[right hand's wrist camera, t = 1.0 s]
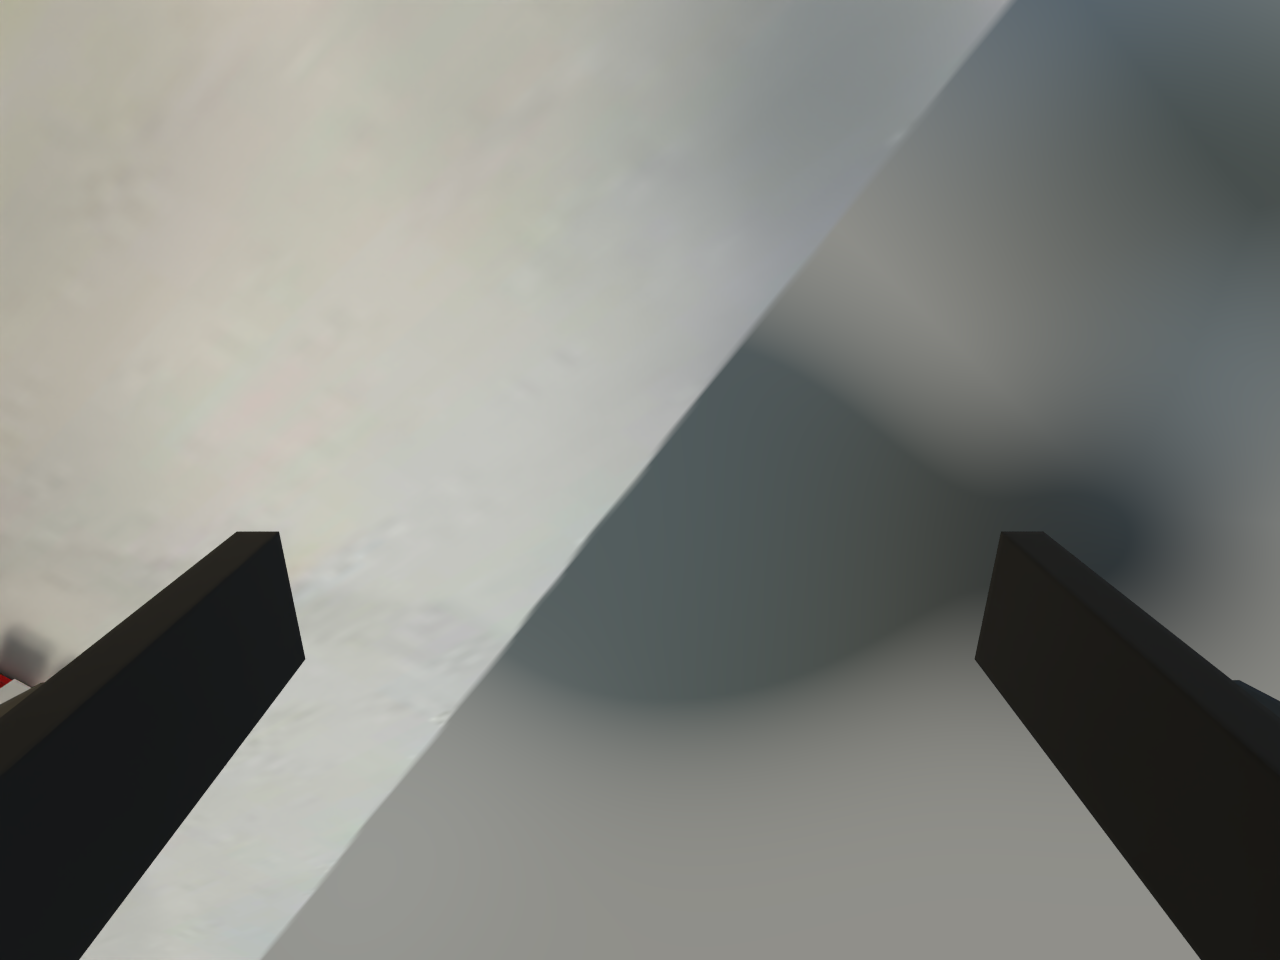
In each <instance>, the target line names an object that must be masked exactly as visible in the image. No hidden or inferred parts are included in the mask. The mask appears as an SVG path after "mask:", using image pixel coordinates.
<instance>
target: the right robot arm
mask: <svg viewBox="0 0 1280 960" xmlns="http://www.w3.org/2000/svg"><path fill="white" fill-rule="evenodd" d="M304 660H305V655H304V650H303V646H302V641H301V636H300V631H299V626H298V621H297V617H296V612H295V607H294V602H293V597H292V592H291V588H290V583H289V578H288V573H287V568H286V563H285V559H284V554H283V549H282V544H281V539H280V534H279V532H236V533H234V534H233V535H232V536H231V537H229V538H228V539H227V540H226V541H224V542H223V543H222V544H220V545H219V546H218V547H217V548H215V549H214V550H213V551H212V552H210V553H209V554H208V555H206V556H205V557H204V558H203V559H201V560H200V561H199V562H198V563H196V564H195V565H194V566H192V567H191V568H190V569H189V570H187V571H186V572H185V573H184V574H182V575H181V576H180V577H179V578H177V579H176V580H175V581H173V582H172V583H171V584H170V585H168V586H167V587H166V588H165V589H163V590H162V591H161V592H159V593H158V594H157V595H156V596H154V597H153V598H152V599H151V600H149V601H148V602H147V603H145V604H144V605H143V606H142V607H140V608H139V609H138V610H137V611H135V612H134V613H133V614H131V615H130V616H129V617H128V618H126V619H125V620H124V621H123V622H121V623H120V624H119V625H117V626H116V627H115V628H114V629H112V630H111V631H110V632H109V633H107V634H106V635H105V636H104V637H102V638H101V639H100V640H98V641H97V642H96V643H95V644H93V645H92V646H91V647H90V648H88V649H87V650H86V651H84V652H83V653H82V654H81V655H79V656H78V657H77V658H76V659H74V660H73V661H72V662H70V663H69V664H68V665H67V666H65V667H64V668H63V669H62V670H60V671H59V672H58V673H56V674H55V675H54V676H53V677H51V678H50V679H49V680H48V681H46V682H45V683H40V684H38V685H36V686H34V687H32V688H30V689H29V690H27V691H25V692H23V693H21V694H19V695H17V696H15V697H13V698H11V699H9V700H8V701H6V702H4V703H2V704H0V960H79V959H80V958H81V956H82V955H83V954H84V952H85V951H86V950H87V949H88V947H89V946H90V945H91V943H92V942H93V941H94V939H95V938H96V937H97V935H98V934H99V933H100V931H101V930H102V929H103V927H104V926H105V925H106V923H107V922H108V921H109V919H110V918H111V917H112V915H113V914H114V913H115V911H116V910H117V909H118V907H119V906H120V905H121V903H122V902H123V901H124V899H125V898H126V897H127V895H128V894H129V893H130V891H131V890H132V889H133V887H134V886H135V885H136V883H137V882H138V881H139V879H140V878H141V877H142V875H143V874H144V873H145V871H146V870H147V869H148V867H149V866H150V865H151V863H152V862H153V861H154V859H155V858H156V857H157V855H158V854H159V853H160V852H161V850H162V849H163V848H164V846H165V845H166V844H167V842H168V841H169V840H170V838H171V837H172V836H173V834H174V833H175V832H176V830H177V829H178V828H179V826H180V825H181V824H182V822H183V821H184V820H185V818H186V817H187V816H188V814H189V813H190V812H191V810H192V809H193V808H194V806H195V805H196V804H197V802H198V801H199V800H200V798H201V797H202V796H203V794H204V793H205V792H206V790H207V789H208V788H209V786H210V785H211V784H212V782H213V781H214V780H215V778H216V777H217V776H218V774H219V773H220V772H221V770H222V769H223V768H224V766H225V765H226V764H227V762H228V761H229V760H230V759H231V757H232V756H233V755H234V753H235V752H236V751H237V749H238V748H239V747H240V745H241V744H242V743H243V741H244V740H245V739H246V737H247V736H248V735H249V733H250V732H251V731H252V729H253V728H254V727H255V725H256V724H257V723H258V721H259V720H260V719H261V717H262V716H263V715H264V713H265V712H266V711H267V709H268V708H269V707H270V705H271V704H272V703H273V701H274V700H275V699H276V697H277V696H278V695H279V693H280V692H281V691H282V689H283V688H284V687H285V685H286V684H287V683H288V681H289V680H290V679H291V677H292V676H293V675H294V673H295V672H296V671H297V669H298V668H299V667H300V666H301V664H302V663H303V662H304ZM975 660H976V662H977V663H978V664H979V666H980V667H981V668H982V669H983V671H984V672H985V673H986V675H987V676H988V677H989V679H990V680H991V681H992V683H993V684H994V685H995V687H996V688H997V689H998V691H999V692H1000V693H1001V695H1002V696H1003V697H1004V699H1005V700H1006V701H1007V703H1008V704H1009V705H1010V707H1011V708H1012V709H1013V711H1014V712H1015V713H1016V715H1017V716H1018V717H1019V719H1020V720H1021V721H1022V723H1023V724H1024V725H1025V727H1026V728H1027V729H1028V731H1029V732H1030V733H1031V735H1032V736H1033V737H1034V739H1035V740H1036V741H1037V743H1038V744H1039V745H1040V747H1041V748H1042V749H1043V751H1044V752H1045V753H1046V754H1047V756H1048V757H1049V759H1050V760H1051V761H1052V762H1053V764H1054V765H1055V766H1056V768H1057V769H1058V770H1059V772H1060V773H1061V774H1062V776H1063V777H1064V778H1065V780H1066V781H1067V782H1068V784H1069V785H1070V786H1071V788H1072V789H1073V790H1074V792H1075V793H1076V794H1077V796H1078V797H1079V798H1080V800H1081V801H1082V802H1083V804H1084V805H1085V806H1086V808H1087V809H1088V810H1089V812H1090V813H1091V814H1092V816H1093V817H1094V818H1095V820H1096V821H1097V822H1098V824H1099V825H1100V826H1101V828H1102V829H1103V830H1104V832H1105V833H1106V834H1107V836H1108V837H1109V838H1110V840H1111V841H1112V842H1113V844H1114V845H1115V846H1116V848H1117V849H1118V850H1119V852H1120V853H1121V854H1122V855H1123V857H1124V858H1125V859H1126V861H1127V862H1128V863H1129V865H1130V866H1131V867H1132V869H1133V870H1134V871H1135V873H1136V874H1137V875H1138V877H1139V878H1140V879H1141V881H1142V882H1143V883H1144V885H1145V886H1146V887H1147V889H1148V890H1149V891H1150V893H1151V894H1152V895H1153V897H1154V898H1155V899H1156V901H1157V902H1158V903H1159V905H1160V906H1161V907H1162V909H1163V910H1164V911H1165V913H1166V914H1167V915H1168V917H1169V918H1170V919H1171V921H1172V922H1173V923H1174V925H1175V926H1176V927H1177V929H1178V930H1179V931H1180V933H1181V934H1182V935H1183V937H1184V938H1185V939H1186V941H1187V942H1188V943H1189V944H1190V946H1191V947H1192V948H1193V950H1194V951H1195V952H1196V954H1197V955H1198V956H1199V958H1200V959H1201V960H1280V701H1278V700H1276V699H1274V698H1272V697H1271V696H1269V695H1267V694H1265V693H1263V692H1261V691H1259V690H1257V689H1255V688H1253V687H1251V686H1249V685H1247V684H1246V683H1244V682H1242V681H1240V680H1231V679H1230V678H1229V677H1227V676H1226V675H1225V674H1224V673H1222V672H1221V671H1220V670H1218V669H1217V668H1216V667H1215V666H1213V665H1212V664H1211V663H1210V662H1208V661H1207V660H1206V659H1204V658H1203V657H1202V656H1201V655H1199V654H1198V653H1197V652H1196V651H1194V650H1193V649H1192V648H1190V647H1189V646H1188V645H1187V644H1185V643H1184V642H1183V641H1182V640H1180V639H1179V638H1178V637H1176V636H1175V635H1174V634H1173V633H1171V632H1170V631H1169V630H1168V629H1166V628H1165V627H1164V626H1163V625H1161V624H1160V623H1159V622H1157V621H1156V620H1155V619H1154V618H1152V617H1151V616H1150V615H1148V614H1147V613H1146V612H1145V611H1143V610H1142V609H1141V608H1140V607H1138V606H1137V605H1136V604H1135V603H1133V602H1132V601H1131V600H1129V599H1128V598H1127V597H1126V596H1124V595H1123V594H1122V593H1121V592H1119V591H1118V590H1117V589H1115V588H1114V587H1113V586H1112V585H1110V584H1109V583H1108V582H1107V581H1105V580H1104V579H1103V578H1101V577H1100V576H1099V575H1098V574H1096V573H1095V572H1094V571H1093V570H1091V569H1090V568H1089V567H1087V566H1086V565H1085V564H1084V563H1082V562H1081V561H1080V560H1079V559H1077V558H1076V557H1075V556H1074V555H1072V554H1071V553H1070V552H1068V551H1067V550H1066V549H1065V548H1063V547H1062V546H1061V545H1060V544H1058V543H1057V542H1056V541H1054V540H1053V539H1052V538H1051V537H1049V536H1048V535H1047V534H1046V533H1044V532H1001V535H1000V539H999V544H998V549H997V554H996V559H995V564H994V568H993V573H992V578H991V583H990V588H989V592H988V597H987V602H986V607H985V612H984V617H983V621H982V626H981V631H980V636H979V641H978V646H977V651H976V655H975Z"/></svg>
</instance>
